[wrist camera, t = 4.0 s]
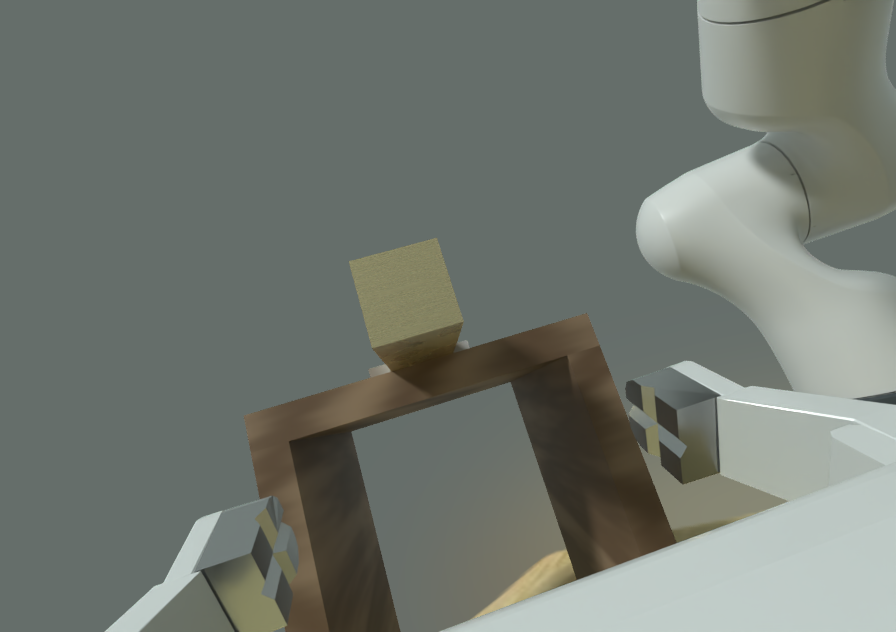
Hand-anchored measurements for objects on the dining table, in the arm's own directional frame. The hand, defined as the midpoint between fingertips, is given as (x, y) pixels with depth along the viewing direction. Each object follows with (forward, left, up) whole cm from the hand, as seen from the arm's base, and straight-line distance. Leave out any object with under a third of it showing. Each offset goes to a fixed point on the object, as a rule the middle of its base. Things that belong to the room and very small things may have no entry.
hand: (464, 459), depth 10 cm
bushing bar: (0, -17, +4) cm, 17 cm away
